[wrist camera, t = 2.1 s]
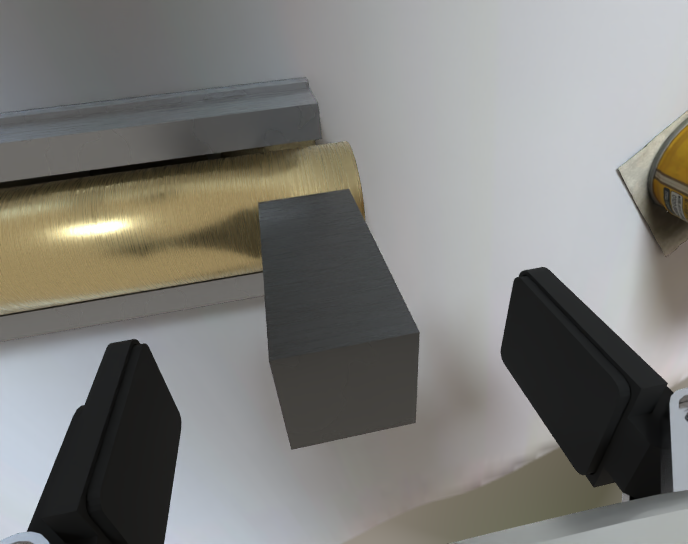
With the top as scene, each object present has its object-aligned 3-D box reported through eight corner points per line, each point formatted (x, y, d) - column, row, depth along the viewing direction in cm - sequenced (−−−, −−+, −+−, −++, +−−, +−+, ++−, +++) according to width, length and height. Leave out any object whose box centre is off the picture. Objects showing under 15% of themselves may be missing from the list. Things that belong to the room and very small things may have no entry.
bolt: (-220, 200, 15) (-936, 556, 6) (338, 126, 17) (446, 300, 8) (-130, 297, 18) (-531, 649, 8) (345, 221, 20) (433, 435, 11)
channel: (-208, 137, 15) (-306, 174, 12) (305, 77, 17) (317, 97, 14) (-64, 312, 20) (-111, 365, 17) (325, 247, 22) (336, 286, 19)
